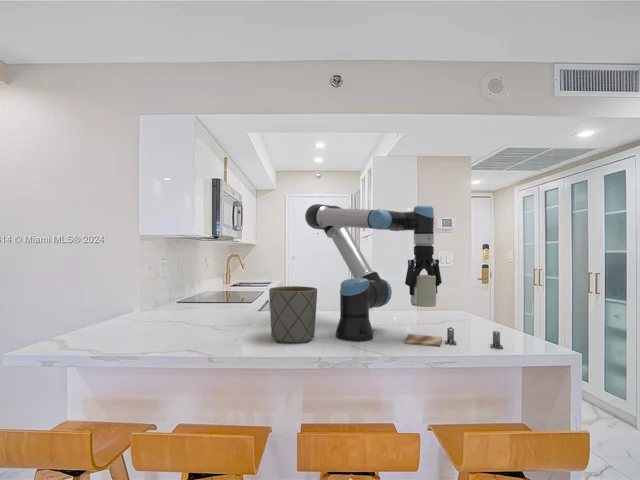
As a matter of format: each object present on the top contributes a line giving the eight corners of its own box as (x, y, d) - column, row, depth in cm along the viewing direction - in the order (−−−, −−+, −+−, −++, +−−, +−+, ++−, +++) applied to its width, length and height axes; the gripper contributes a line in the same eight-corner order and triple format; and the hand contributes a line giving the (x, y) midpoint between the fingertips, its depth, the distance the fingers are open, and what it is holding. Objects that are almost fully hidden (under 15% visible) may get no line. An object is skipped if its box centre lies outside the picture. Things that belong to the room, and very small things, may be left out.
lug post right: (491, 349, 140) (491, 333, 140) (490, 345, 145) (490, 330, 145) (503, 350, 138) (503, 334, 139) (501, 346, 143) (501, 331, 143)
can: (424, 307, 145) (424, 275, 145) (406, 304, 152) (406, 274, 153) (441, 305, 150) (441, 274, 150) (422, 302, 158) (422, 273, 158)
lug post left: (444, 344, 146) (444, 329, 146) (445, 341, 151) (445, 326, 151) (456, 345, 145) (456, 330, 145) (456, 341, 150) (456, 327, 150)
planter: (318, 344, 145) (318, 291, 145) (267, 345, 143) (267, 291, 144) (315, 333, 164) (315, 286, 164) (270, 333, 162) (270, 286, 163)
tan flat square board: (404, 343, 147) (404, 341, 147) (408, 336, 159) (408, 334, 159) (440, 346, 143) (440, 344, 143) (441, 338, 155) (441, 336, 155)
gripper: (407, 245, 144) (407, 305, 143) (451, 245, 153) (451, 302, 152) (395, 245, 150) (395, 303, 150) (438, 245, 160) (438, 300, 159)
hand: (423, 302), depth 151 cm, fingers closed on can, 9 cm apart
